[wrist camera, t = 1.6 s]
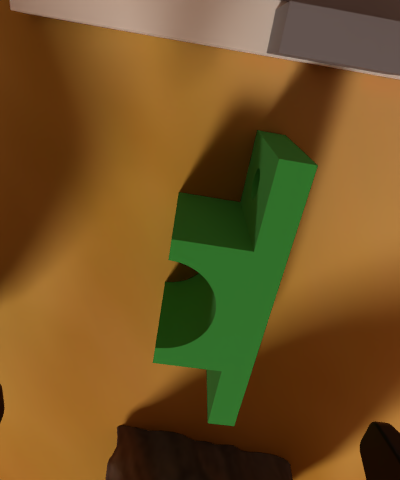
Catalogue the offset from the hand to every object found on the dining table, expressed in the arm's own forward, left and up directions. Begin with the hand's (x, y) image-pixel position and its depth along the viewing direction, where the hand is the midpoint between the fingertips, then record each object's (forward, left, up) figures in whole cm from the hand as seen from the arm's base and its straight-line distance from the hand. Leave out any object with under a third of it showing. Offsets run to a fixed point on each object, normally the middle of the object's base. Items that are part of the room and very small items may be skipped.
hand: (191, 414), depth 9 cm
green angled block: (+1, 0, -9) cm, 9 cm away
